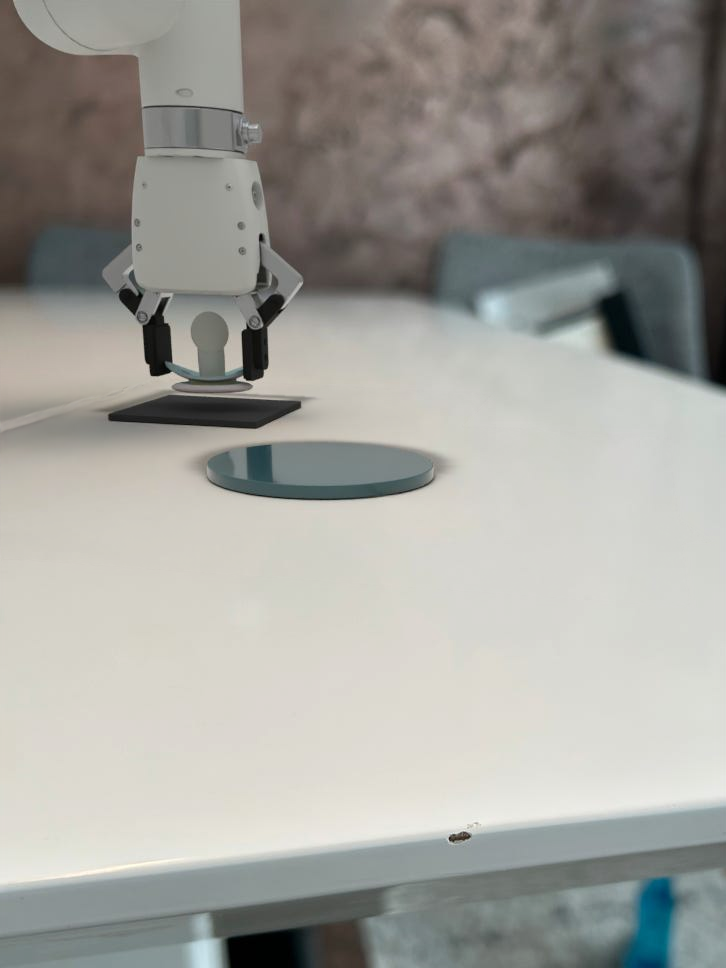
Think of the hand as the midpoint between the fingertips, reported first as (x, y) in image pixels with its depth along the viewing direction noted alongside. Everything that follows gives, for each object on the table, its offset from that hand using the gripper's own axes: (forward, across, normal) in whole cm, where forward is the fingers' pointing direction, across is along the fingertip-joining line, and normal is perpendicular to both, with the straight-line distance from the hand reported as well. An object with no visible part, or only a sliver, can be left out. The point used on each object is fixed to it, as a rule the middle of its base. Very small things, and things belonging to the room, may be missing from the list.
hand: (207, 375), depth 90 cm
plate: (+3, -16, +22) cm, 27 cm away
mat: (+3, 0, 0) cm, 3 cm away
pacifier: (+1, 0, 0) cm, 2 cm away
